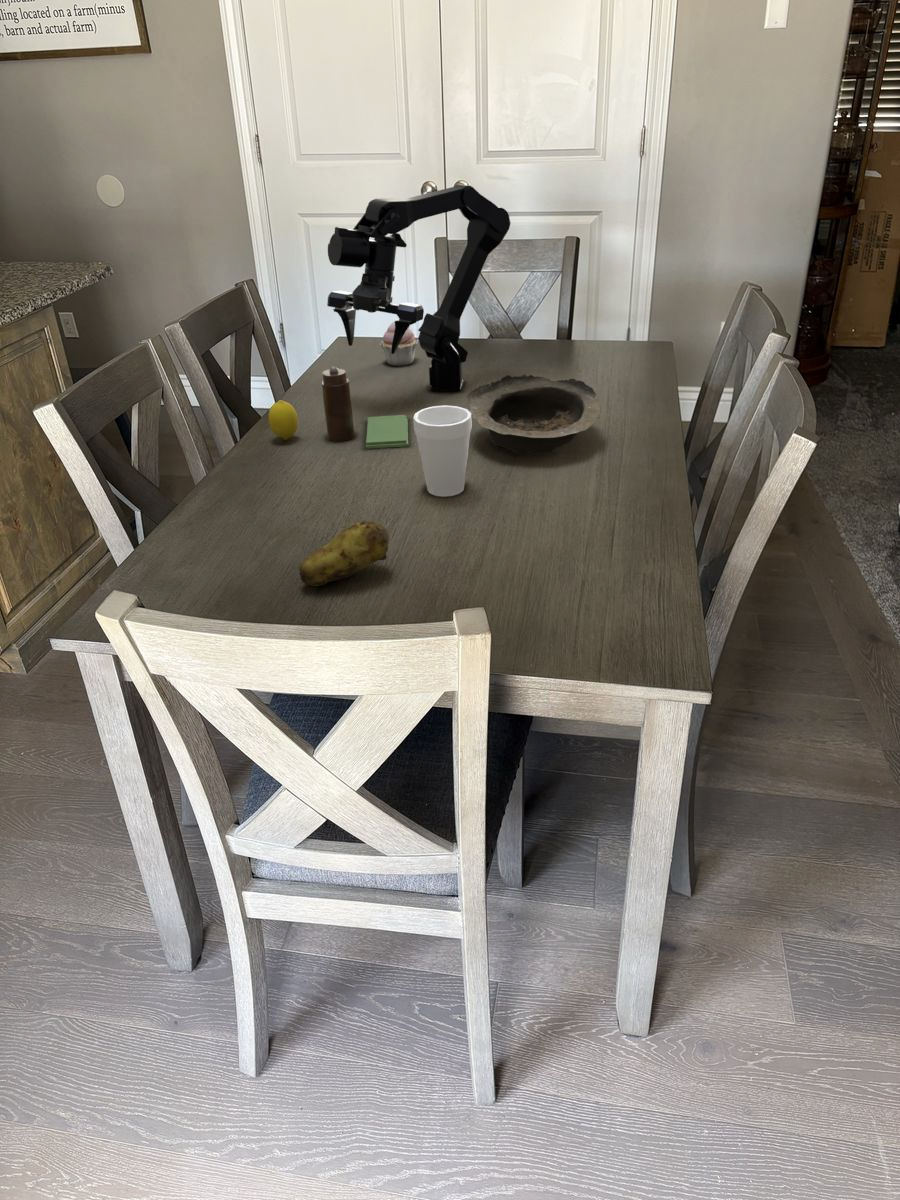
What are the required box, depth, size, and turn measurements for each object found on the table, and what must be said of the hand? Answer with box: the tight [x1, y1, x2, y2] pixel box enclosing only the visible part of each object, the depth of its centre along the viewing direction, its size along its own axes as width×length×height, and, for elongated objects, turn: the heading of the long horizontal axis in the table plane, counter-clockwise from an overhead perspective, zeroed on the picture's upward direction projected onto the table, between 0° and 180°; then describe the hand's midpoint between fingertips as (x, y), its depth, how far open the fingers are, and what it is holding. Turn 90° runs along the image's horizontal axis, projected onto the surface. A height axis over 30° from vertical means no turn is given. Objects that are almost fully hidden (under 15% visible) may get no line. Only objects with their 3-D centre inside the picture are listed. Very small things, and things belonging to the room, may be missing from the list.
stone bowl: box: [465, 374, 602, 455], centre depth 162 cm, size 25×25×9 cm
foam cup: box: [412, 404, 473, 498], centre depth 144 cm, size 10×9×13 cm
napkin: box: [365, 414, 409, 450], centre depth 169 cm, size 8×14×1 cm, turn 3°
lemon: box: [268, 399, 299, 441], centre depth 167 cm, size 6×6×8 cm
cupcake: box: [379, 321, 419, 367], centre depth 206 cm, size 9×9×10 cm
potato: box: [298, 519, 390, 587], centre depth 122 cm, size 8×13×8 cm, turn 95°
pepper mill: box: [321, 366, 356, 442], centre depth 166 cm, size 5×5×14 cm
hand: (371, 349), depth 177 cm, fingers open, 9 cm apart
